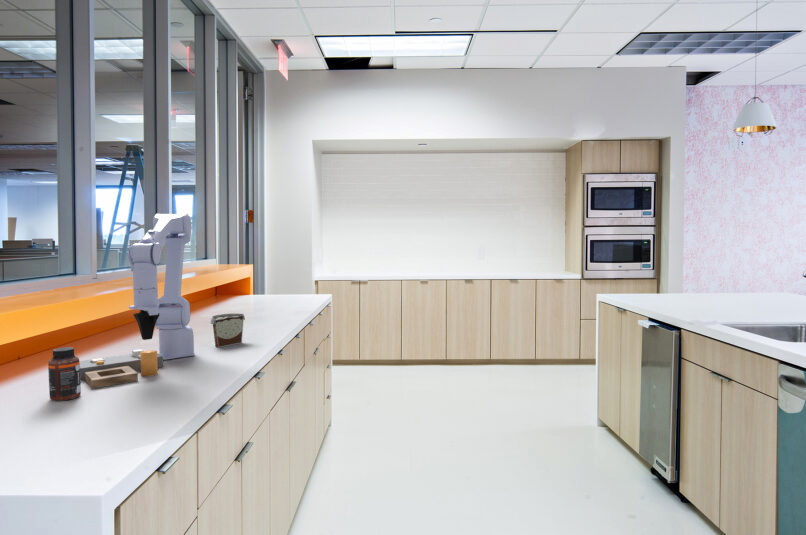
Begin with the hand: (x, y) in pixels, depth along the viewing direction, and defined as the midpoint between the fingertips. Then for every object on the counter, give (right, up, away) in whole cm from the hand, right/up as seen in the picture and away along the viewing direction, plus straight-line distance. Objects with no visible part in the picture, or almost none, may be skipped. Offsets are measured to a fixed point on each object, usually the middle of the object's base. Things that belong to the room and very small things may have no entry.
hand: (147, 339), depth 134 cm
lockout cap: (0, -9, +1) cm, 10 cm away
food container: (+7, -7, +39) cm, 40 cm away
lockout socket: (-6, -10, -5) cm, 13 cm away
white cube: (-14, -8, +2) cm, 17 cm away
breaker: (-7, -7, +9) cm, 13 cm away
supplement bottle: (-9, -11, -19) cm, 24 cm away
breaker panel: (-10, -9, +5) cm, 14 cm away
